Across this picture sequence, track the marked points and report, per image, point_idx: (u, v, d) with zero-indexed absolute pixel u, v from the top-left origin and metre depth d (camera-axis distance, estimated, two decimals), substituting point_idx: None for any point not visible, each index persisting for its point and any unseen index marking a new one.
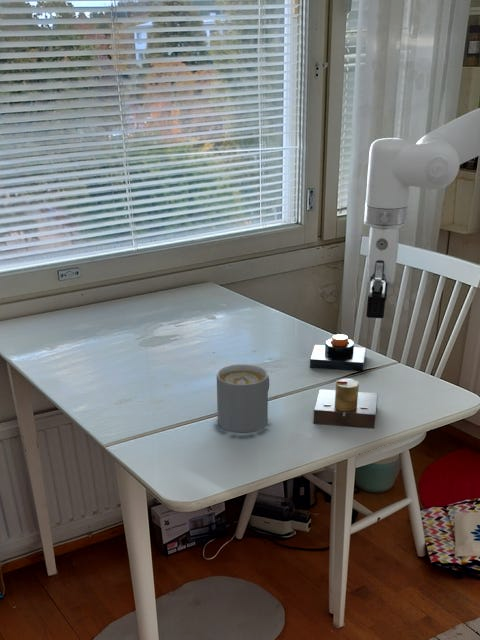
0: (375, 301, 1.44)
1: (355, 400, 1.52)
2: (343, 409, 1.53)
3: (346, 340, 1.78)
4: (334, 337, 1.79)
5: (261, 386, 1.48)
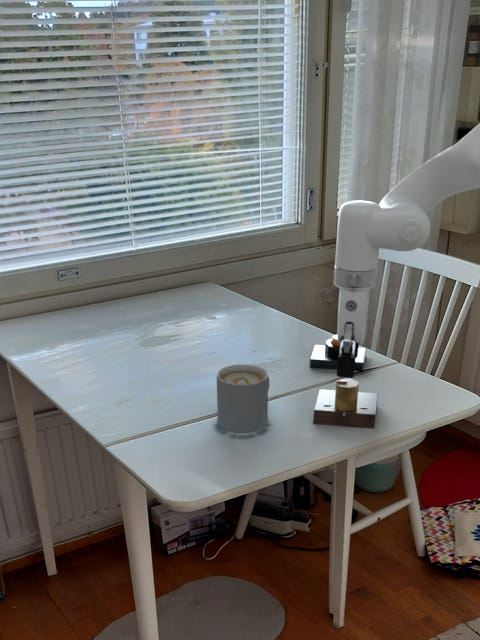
0: (345, 361, 1.43)
1: (355, 400, 1.52)
2: (343, 409, 1.53)
3: None
4: (334, 337, 1.79)
5: (261, 386, 1.48)
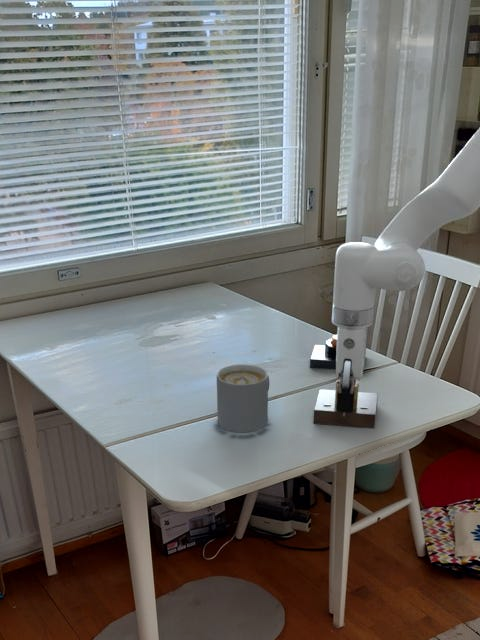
0: (344, 397, 1.50)
1: (355, 400, 1.52)
2: None
3: None
4: (334, 337, 1.79)
5: (261, 386, 1.48)
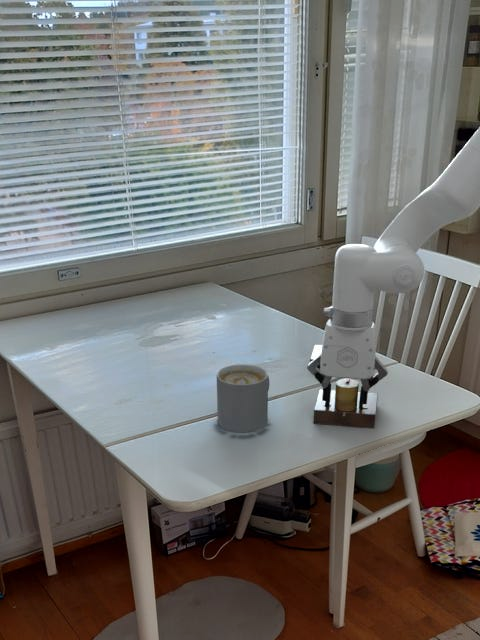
0: None
1: (339, 400, 1.52)
2: None
3: None
4: None
5: (261, 386, 1.48)
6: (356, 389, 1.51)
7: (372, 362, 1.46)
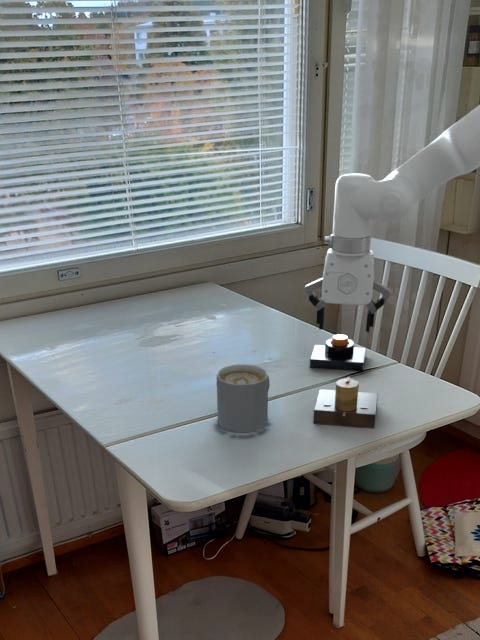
0: None
1: (339, 400, 1.52)
2: None
3: (346, 340, 1.78)
4: (334, 337, 1.79)
5: (261, 386, 1.48)
6: (356, 389, 1.51)
7: (370, 288, 1.55)
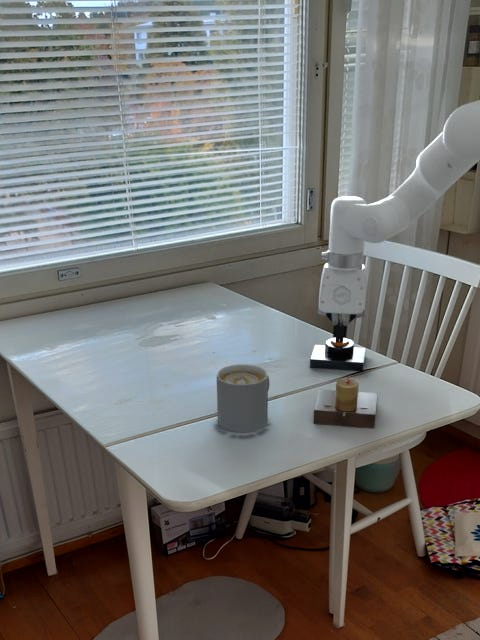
0: None
1: (339, 400, 1.52)
2: None
3: (346, 344, 1.79)
4: (334, 341, 1.79)
5: (261, 386, 1.48)
6: (356, 389, 1.51)
7: (363, 299, 1.71)
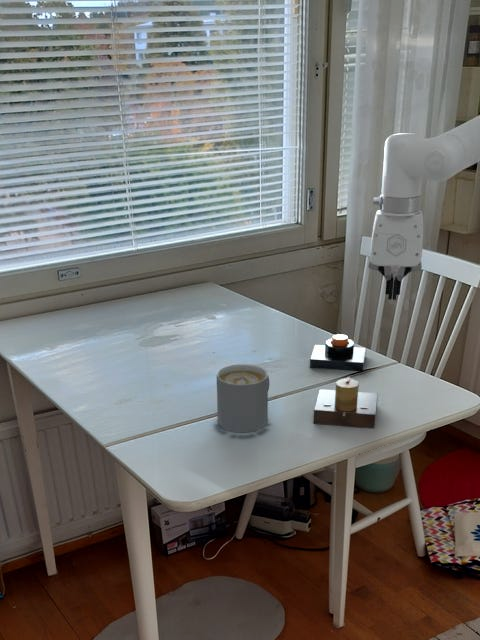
0: None
1: (339, 400, 1.52)
2: None
3: (346, 340, 1.78)
4: (334, 337, 1.79)
5: (261, 386, 1.48)
6: (356, 389, 1.51)
7: (420, 248, 1.54)
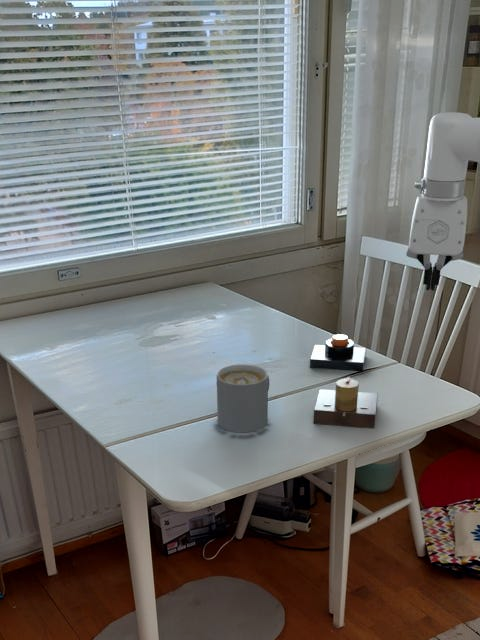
0: None
1: (339, 400, 1.52)
2: None
3: (346, 340, 1.78)
4: (334, 337, 1.79)
5: (261, 386, 1.48)
6: (356, 389, 1.51)
7: (463, 236, 1.46)
